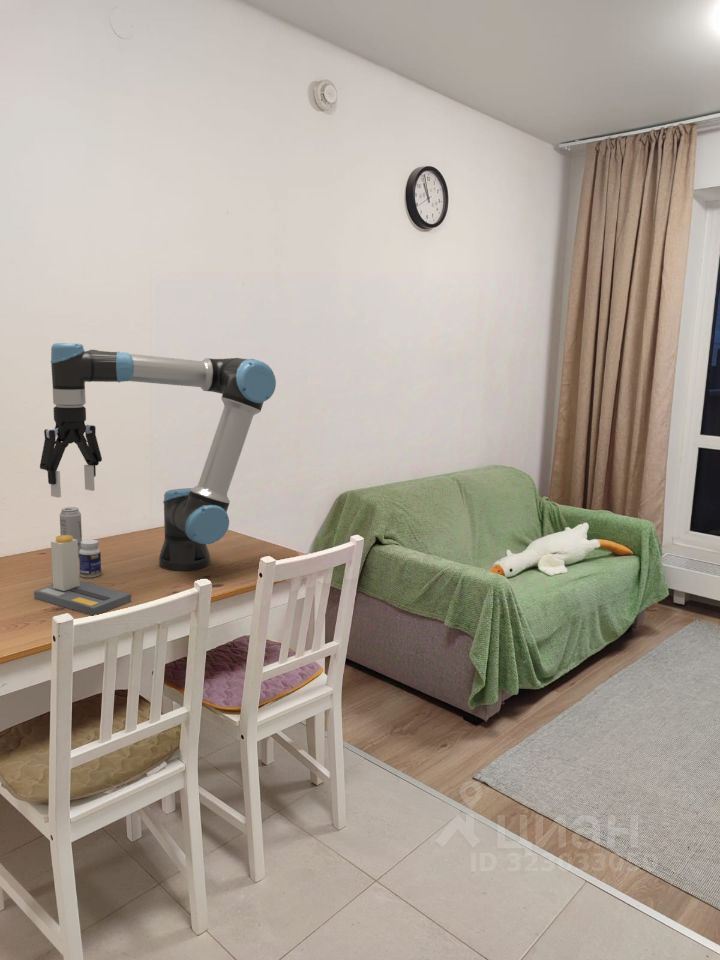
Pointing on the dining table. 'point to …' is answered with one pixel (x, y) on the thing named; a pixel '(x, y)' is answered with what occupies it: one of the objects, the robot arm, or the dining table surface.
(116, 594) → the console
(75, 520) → the energy drink can
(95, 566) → the pill bottle
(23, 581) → the dining table surface
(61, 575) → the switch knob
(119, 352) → the robot arm
